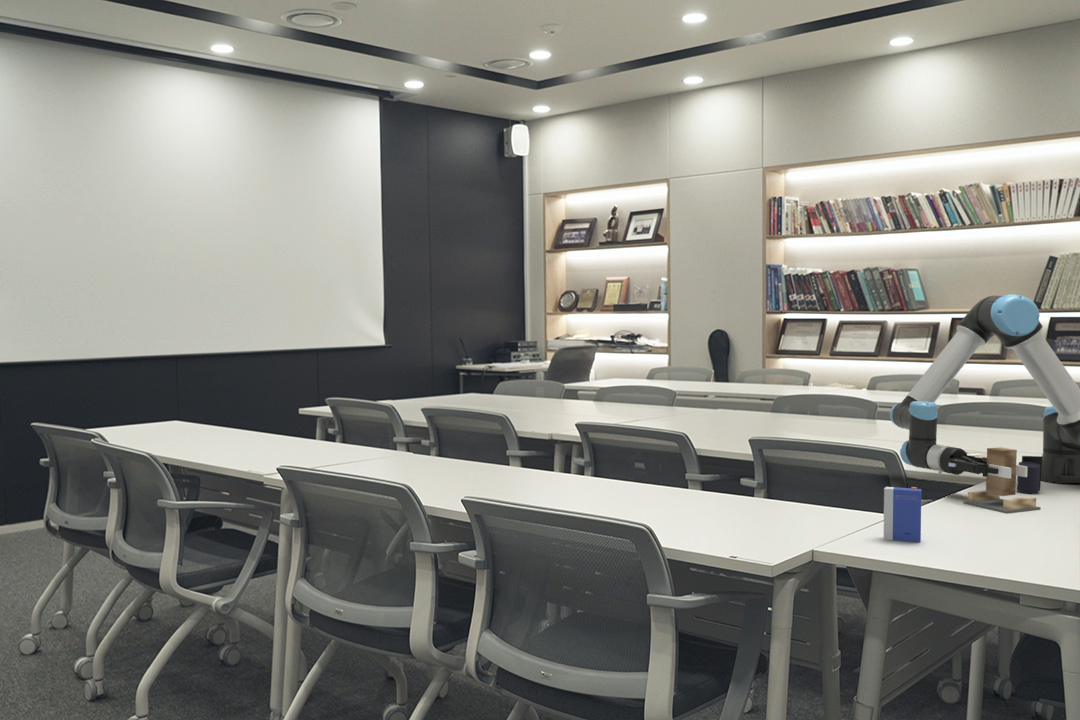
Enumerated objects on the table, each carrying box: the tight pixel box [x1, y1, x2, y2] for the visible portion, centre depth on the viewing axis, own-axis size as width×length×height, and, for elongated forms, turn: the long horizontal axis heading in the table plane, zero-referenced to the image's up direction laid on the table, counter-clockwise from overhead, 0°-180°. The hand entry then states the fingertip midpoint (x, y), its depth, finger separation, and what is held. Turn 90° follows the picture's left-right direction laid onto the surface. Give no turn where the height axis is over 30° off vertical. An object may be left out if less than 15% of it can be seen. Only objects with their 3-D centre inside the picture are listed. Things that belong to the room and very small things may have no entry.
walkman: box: [883, 486, 922, 543], centre depth 210 cm, size 8×3×12 cm, turn 65°
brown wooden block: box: [985, 446, 1018, 497], centre depth 245 cm, size 5×5×12 cm
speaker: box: [1016, 455, 1042, 495], centre depth 265 cm, size 8×6×10 cm
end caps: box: [967, 489, 1037, 510], centre depth 246 cm, size 10×13×2 cm
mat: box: [962, 497, 1041, 514], centre depth 246 cm, size 12×14×1 cm
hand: (1018, 472), depth 240 cm, fingers closed on brown wooden block, 5 cm apart
